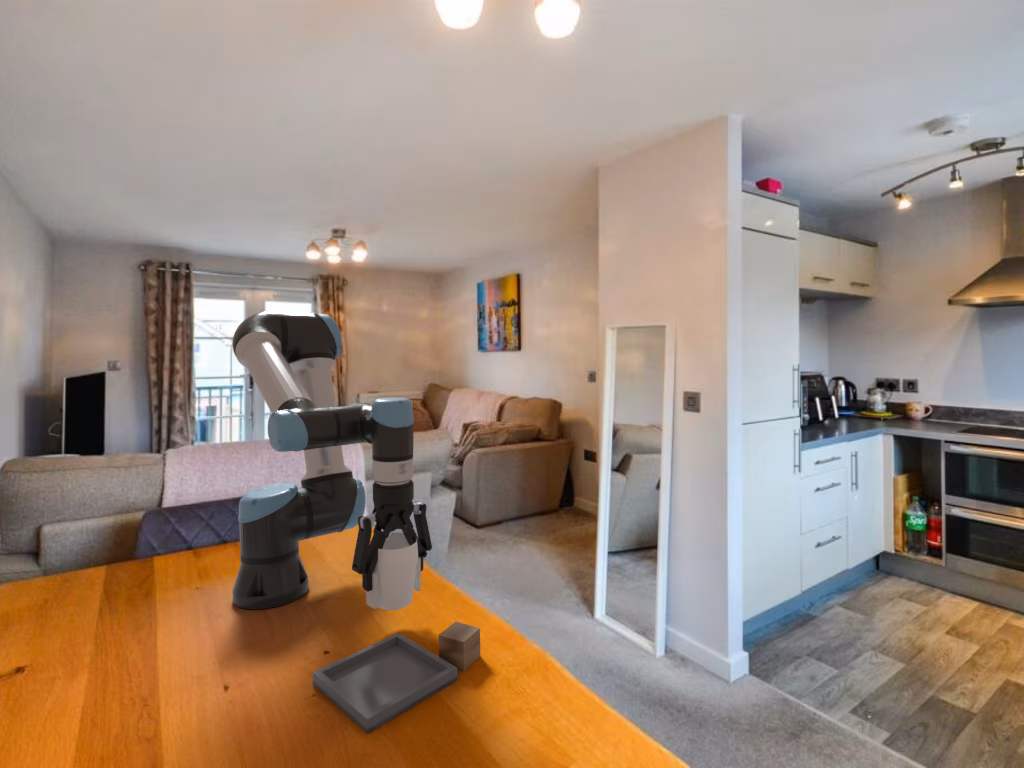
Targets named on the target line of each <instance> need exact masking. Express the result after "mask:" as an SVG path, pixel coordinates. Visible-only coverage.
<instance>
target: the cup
mask: <svg viewBox="0 0 1024 768" xmlns="http://www.w3.org/2000/svg"><path fill="white" fill-rule="evenodd" d="M370 542H371V540H370ZM417 560H418V546H417V538H416V543H414V544H413V545H411V546H410V545H409V544H408V542H407V540H406V538H405V536H404V534H403V532H390V534H389V537H388V538H386V540H385V543H384V545H383V548H382V549H378V561H377V564H376V566H375V569H374V571H375V572H376V573H378V608H379V609H382V610H383V611H384V610H385V611H397V610H402V609H404V608H406V607H408V606H409V605H411V603H413V595H414V591H415V590H414V582H415V575H416V568H417Z"/></svg>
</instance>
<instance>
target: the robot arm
mask: <svg viewBox="0 0 1024 768" xmlns="http://www.w3.org/2000/svg"><path fill="white" fill-rule="evenodd" d="M342 345H343V338H342V333H341V329H340V327H339V326H338V323H337V322H336V320H335V319H334V318H333V317H331V316H330V315H328V314H326V313H317V312H295V311H294V312H293V311H275V310H274V311H273V310H266V311H259V312H257V313H254V314H252V315H249V316H248V317H247V318H245V319H244V320H243V321H242V322H241V323H240V324H239V325H238V326H237V328H236V329H235V332H234V333H233V336H232V350H233V351H232V352H233V353H234V356H235V358H236V360H237V362H238V363H239V364H240V365H241V366H243V367H244V368H246V369H247V370H248V372H249V373H250V375H251V377H252V379H253V381H254V382H255V385H256V386H257V388H258V391H259V392H260V394H261V396H262V397H263V400H264V401H265V404H266V405H267V407H268V410H270V413H271V414H270V415H269V417H268V419H267V437H268V439H269V444H270V446H271V448H272V449H273V450H274V451H276V452H280V453H284V452H294V453H296V452H302V451H303V454H304V455H303V456H304V461H305V470H306V472H305V474H304V475H303V477H302V478H301V479H300V484H301V486H300V487H298V486H297V484H296V483H295V482H294V483H293V482H289V481H288V482H280V483H278V482H277V483H276V482H275V483H271V484H266V485H263V486H260V487H257V488H255V489H252V490H250V491H249V492H247V493H245V494H243V496H242V497H241V498H240V500H239V503H238V515H237V516H238V517H237V521H238V528H239V529H238V530H239V533H238V534H239V549H240V550H239V551H240V565H239V568H238V572H237V575H236V578H235V581H234V586H233V587H232V603H233V605H234V606H236V607H237V608H240V609H245V610H263V609H270V608H276V607H279V606H283V605H287V604H289V603H292V602H293V601H294V602H295V601H296V600H298V599H300V598H302V597H303V596H304V595H306V593H307V592H308V590H309V589H310V585H309V582H310V581H309V576H308V574H307V570H306V569H305V566H304V563H303V560H302V558H301V556H300V542H301V541H304V540H310V539H314V538H318V537H322V536H326V535H331V534H336V533H342V532H344V531H347V530H350V529H354V528H355V527H357V526H358V533H357V537H356V542H355V543H356V544H355V549H354V555H353V560H352V564H351V570H352V571H353V572H355V573H357V574H359V575H361V576H362V577H361V581H362V583H361V584H362V589H363V590H364V591H366V592H365V593H366V594H365V597H366V598H365V600H366V602H365V604H366V605H368V607H371V608H372V609H373V610H375V609H378V608H379V607H378V573H376V572H375V571H374V569H375V566H376V564H377V561H378V549H382V548H383V545H384V543H385V540H386V538H388V537H389V534H390V533H393V532H395V531H396V530H401V531H402V532H401V533H403V534H404V536H405V538H406V540H407V542H408V544H409V545H410V546H411V545H413V544H414V543H416V538H417V546H418V560H417V568H416V575H415V582H414V590H413V591H416V592H419V591H421V590H422V585H421V584H422V583H421V582H422V580H421V578H422V575H421V574H422V572H423V571H424V558H427V556H428V551H432V548H433V545H432V540H431V535H430V530H429V529H430V528H429V525H428V520H427V516H426V515H427V504H426V503H424V502H421V501H417V500H415V502H413V500H414V495H415V494H414V493H415V492H414V491H415V485H414V484H415V483H414V481H413V478H414V437H415V436H414V433H415V432H414V431H415V430H414V423H415V418H414V417H415V416H414V410H413V407H414V406H413V402H412V401H411V400H410V399H409V398H407V397H380V398H375V399H373V401H372V403H369V402H362V403H361V402H357V403H353V404H350V405H345V406H344V405H343V406H337V405H336V399H335V391H334V384H333V378H332V373H331V372H332V371H331V370H332V369H333V368H334V366H335V365H336V364H337V363H336V359H339V357H340V356H341V354H342V350H343V349H342V348H343V347H342ZM364 443H365V444H366V443H367V444H370V445H371V447H372V448H371V451H372V453H371V454H372V455H371V456H372V457H371V458H372V464H371V465H372V472H371V474H372V476H371V479H372V480H373V481H374V482H373V484H372V503H373V510H372V511H371V513H370V514H368V515H366V516H364V514H365V511H366V502H367V501H366V500H367V498H366V490H365V487H364V485H363V482H362V480H360V479H359V478H357V477H354V474H353V470H351V469H350V468H349V467H348V466H346V465H345V460H344V454H343V446H347V445H356V444H357V445H358V444H364ZM412 514H413V519H414V524H415V528H414V524H413V522H412V520H411V516H412ZM374 523H375V525H374ZM373 527H374V529H373ZM415 530H416V531H415ZM372 532H373V535H372ZM370 541H371V542H370Z"/></svg>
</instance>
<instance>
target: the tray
mask: <svg viewBox="0 0 1024 768" xmlns="http://www.w3.org/2000/svg"><path fill="white" fill-rule="evenodd" d="M456 681H458V670H457V667H455V666H453V665H452V664H450V663H448V662H447V661H445V660H443V659H442V658H440V657H439V655H437V654H435V653H434V652H432V651H430V650H428V649H427V648H425V647H423V646H421V644H418V643H417V642H415V641H413V640H412V639H410V638H408V637H407V636H405V635H403V634H401V633H400V632H396V633H395V634H392V635H391V636H388V637H386V638H384V639H382V640H379V641H378V642H375V643H373V644H370V645H369V646H367V647H364V648H362V649H360V650H358V651H356V652H354V653H352V654H349V655H347V656H345V657H343V658H341V659H338V660H336V661H334V662H331V663H330V664H328V665H325V666H324V667H321V668H319V669H317V670H315V671H313V672H312V685H313V686H314V687H315V688H316V689H318V691H320V693H322V694H323V695H324V696H325V697H326V698H327V699H328V700H330V701H331V702H332V703H333V704H334V705H335V706H336V707H337V708H338V709H339V710H341V712H343V713H344V714H345V715H346V716H347V717H349V718H350V720H352V721H353V722H354V723H355V724H357V726H359V727H360V728H361V729H362V730H363V731H364V732H365V733H366V734H369V733H372V732H374V731H375V730H376V729H378V728H380V727H381V726H383V725H385V724H386V723H388V722H390V721H392V720H393V719H395V718H397V717H398V716H400V715H401V714H403V713H405V712H406V711H408V710H410V709H411V708H413V707H415V706H417V705H418V704H420V703H421V702H423V701H425V700H427V699H428V698H430V697H432V696H433V695H436V693H438V692H440V691H442V690H444V689H446V687H448V686H450V685H452V684H453V683H454V682H456Z"/></svg>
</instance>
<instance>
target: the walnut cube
mask: <svg viewBox="0 0 1024 768" xmlns="http://www.w3.org/2000/svg"><path fill="white" fill-rule="evenodd" d="M438 657H440V658H442V659H443V660H445V661H447V662H448V663H450V664H452V665H453V666H455V667H457V671H461V672H463V673H464V672H466V671H467V669H469V668H470V667H471V666H472V665H473V664H474V663H475V662H476V661H477V660H478V659H479V658H480V657H481V628H480V627H477V626H473V625H469V624H465V623H462V622H460V621H454V622H453V623H452V624H450V625H449V626H448V627H446V629H444V630H443V631H441V632H440V633H439V634H438Z"/></svg>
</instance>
